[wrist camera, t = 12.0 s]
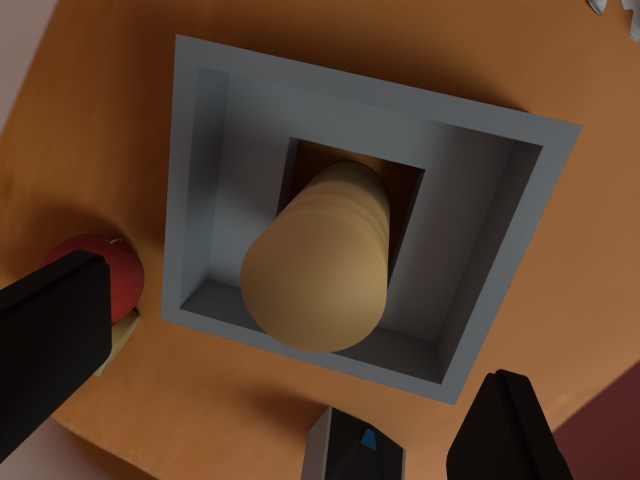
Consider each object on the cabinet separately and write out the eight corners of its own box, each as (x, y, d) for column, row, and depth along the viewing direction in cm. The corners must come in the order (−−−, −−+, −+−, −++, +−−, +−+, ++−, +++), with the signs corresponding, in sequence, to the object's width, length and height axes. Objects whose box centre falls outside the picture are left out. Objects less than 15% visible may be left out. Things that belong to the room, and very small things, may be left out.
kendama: (116, 400, 35) (186, 273, 26) (47, 458, 30) (103, 324, 21) (56, 342, 36) (103, 197, 27) (-23, 388, 31) (2, 227, 21)
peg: (314, 152, 23) (249, 202, 13) (400, 172, 22) (405, 241, 12) (299, 231, 25) (232, 330, 14) (378, 251, 24) (365, 369, 14)
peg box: (232, 46, 21) (176, 33, 16) (531, 113, 20) (582, 125, 14) (208, 271, 27) (160, 319, 21) (442, 336, 25) (454, 405, 20)
